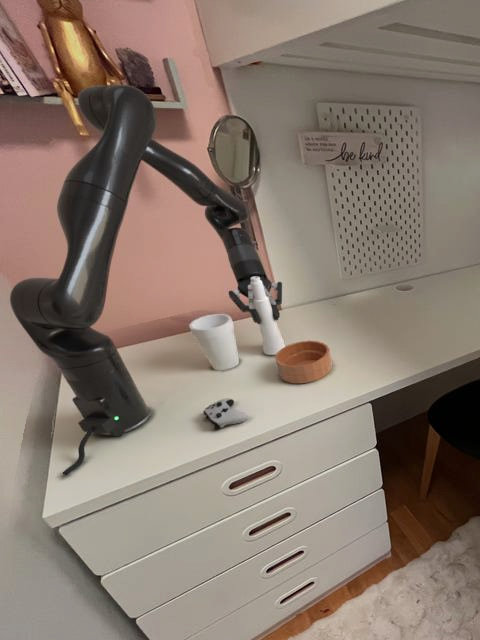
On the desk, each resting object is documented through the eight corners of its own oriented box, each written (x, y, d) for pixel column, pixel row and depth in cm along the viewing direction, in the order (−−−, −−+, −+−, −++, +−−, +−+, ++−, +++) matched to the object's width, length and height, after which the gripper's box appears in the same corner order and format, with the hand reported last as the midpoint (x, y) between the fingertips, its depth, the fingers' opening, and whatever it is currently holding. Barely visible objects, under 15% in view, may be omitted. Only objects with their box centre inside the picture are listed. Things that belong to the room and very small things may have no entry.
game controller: (251, 416, 90) (225, 410, 85) (238, 437, 90) (211, 432, 85) (233, 398, 96) (208, 391, 91) (221, 417, 95) (195, 412, 90)
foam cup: (249, 365, 109) (235, 323, 103) (211, 377, 104) (193, 333, 97) (239, 351, 115) (225, 310, 108) (202, 362, 110) (185, 320, 103)
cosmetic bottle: (262, 347, 116) (240, 275, 105) (284, 342, 119) (265, 272, 107) (265, 357, 112) (243, 283, 100) (288, 351, 115) (269, 279, 103)
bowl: (319, 386, 102) (315, 368, 99) (270, 382, 103) (264, 364, 100) (339, 359, 113) (336, 342, 110) (295, 356, 114) (290, 339, 111)
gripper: (215, 263, 104) (238, 322, 102) (274, 254, 111) (296, 309, 109) (219, 276, 110) (240, 332, 108) (274, 267, 117) (294, 319, 116)
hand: (268, 320), depth 109 cm, fingers closed on cosmetic bottle, 4 cm apart
